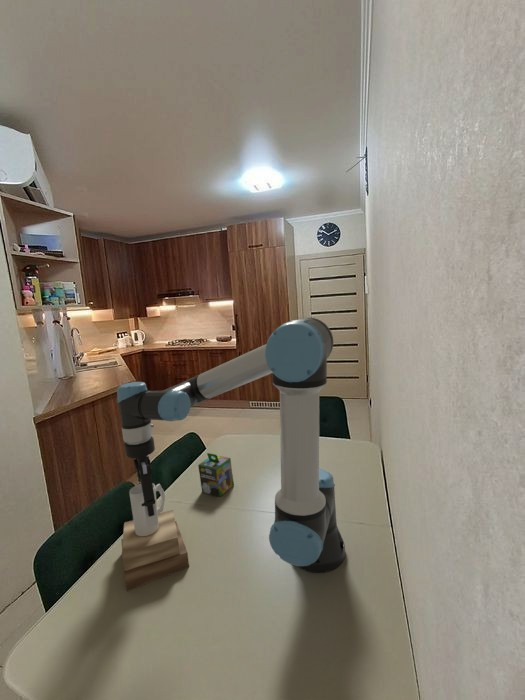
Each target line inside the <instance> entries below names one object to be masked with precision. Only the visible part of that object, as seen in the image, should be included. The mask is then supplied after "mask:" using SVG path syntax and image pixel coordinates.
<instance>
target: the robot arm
mask: <svg viewBox="0 0 525 700" xmlns="http://www.w3.org/2000/svg"><path fill="white" fill-rule="evenodd" d="M333 348H334V336H333V333H332V330H331V329H330V328H329V326H328V325H327V324H326V323H325V322H323V321H322V320H320V319H318V318H315V317H301V318H299V319H294V320H289V321H286V322H285V323H282V324H281V325H279V326H278V327H277V328H276V329H275V330H273V332H272V333H271V334H270V336H269V338H268V339H267V341H266V344H263V345H261V346H259V347H257V348H255V349H253V350H251V351H247V352H245V353H244V354H241V355H239V356H238V357H235V358H233V359H231V360H229V361H226V362H224V363H221V364H220V365H218V366H215V367H213V368H210V369H209V370H207V371H205V372H202V373H200V374H198V375H195V376H193V377H191V378H189V379H186V380H185V381H182V382H180V383H178V384H176V385H173V386H170V387H168V388H166V389H164V390H148V388H147V384H146V383H145V382H144V381H132V382H127V383H123V384H121V385H119V386H118V387H117V389H116V394H117V397H116V399H117V405H118V410H119V415H120V422H121V432H122V438H123V439H122V440H123V442H124V451H125V456H126V457H127V458H129V459H133V464H134V469H135V470H136V472H137V473H136V474H137V475H136V476H137V481H138V482H139V483H138V485H139V484H141V486H142V492H143V497H144V503H142V506H144V509H145V516H146V523H147V528H149V527H152V526H154V525H157V524H158V521H157V514H156V506H155V503H156V501H157V499H156V500H155V497H154V492H153V486H152V483H153V481H152V468H151V459H150V456H149V455H151V454H152V453H153V452H154V451H155V449H156V448H155V440H154V437H153V435H154V434H153V428H155V424H153V423H152V421H165V422H177V421H182V420H184V419H186V418H187V416H188V415H189V413H190V411H191V408H193V407H194V406H196V405H198V404H200V403H203V402H205V401H207V400H210V399H212V398H215V397H217V396H219V395H222V394H224V393H226V392H229V391H232V390H234V389H236V388H239V387H241V386H244V385H246V384H248V383H251V382H254V381H256V380H258V379H261V378H263V377H266V376H269V375H270V374H271V375H272V385H273V386H274V387H275V388H276V389H278V391H279V427H280V433H279V434H280V489H279V490H277V492H276V493H275V496H274V522H273V524H272V525H271V527H270V528H269V529H270V530H269V535H268V540H269V544H270V547H271V548H272V550H273V552H274V554H276V555H277V556H279V559H281V560H282V561H284V562H286V564H289V565H292V566H296V567H298V568H300V569H302V570H303V571H304V570H305V571H307V572H311V573H326V572H331V571H332V570H335V569H336V568H338V567H339V566H340V565H342V563H344V559H345V558H346V545H345V542H344V539H343V537H342V534H341V532H340V530H339V527H338V525H337V524H338V523H337V510H336V509H337V508H336V495H335V494H336V493H335V486H336V484H335V482H334V481H335V480H334V477H333V475H332V473H330V472H329V471H327V470H326V469H323V468H320V391H321V390H322V389H323V388H324V387H326V386H327V382H328V381H327V380H328V379H327V376H328V375H327V373H328V358H329V357H330V355H331V354H332V351H333Z"/></svg>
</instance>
